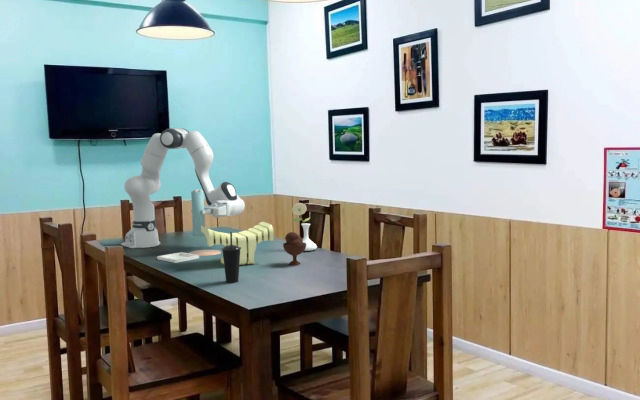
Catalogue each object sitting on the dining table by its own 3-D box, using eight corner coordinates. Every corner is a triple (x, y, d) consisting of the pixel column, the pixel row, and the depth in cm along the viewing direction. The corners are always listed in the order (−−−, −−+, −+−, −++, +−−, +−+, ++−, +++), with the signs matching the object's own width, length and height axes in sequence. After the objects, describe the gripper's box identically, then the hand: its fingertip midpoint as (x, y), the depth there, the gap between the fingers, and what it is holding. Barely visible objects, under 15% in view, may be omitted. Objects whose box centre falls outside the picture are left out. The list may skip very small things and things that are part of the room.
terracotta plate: (182, 254, 292) (182, 252, 292) (207, 250, 304) (207, 248, 304) (202, 258, 282) (202, 256, 282) (227, 253, 294) (227, 251, 294)
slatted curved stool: (210, 269, 255) (209, 229, 254) (201, 263, 270) (200, 225, 268) (274, 263, 268) (273, 225, 266) (262, 257, 282) (262, 221, 281)
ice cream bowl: (304, 266, 259) (303, 233, 257) (279, 266, 261) (279, 233, 260) (309, 262, 269) (308, 230, 268) (286, 261, 271) (285, 229, 270)
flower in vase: (318, 248, 306) (317, 201, 304) (315, 252, 295) (315, 203, 292) (293, 248, 307) (293, 201, 305) (290, 252, 296) (289, 203, 294)
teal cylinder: (190, 235, 289) (188, 189, 286) (200, 234, 293) (198, 188, 291) (198, 236, 285) (196, 189, 283) (207, 235, 289) (206, 188, 287)
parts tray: (157, 260, 277) (157, 256, 277) (181, 256, 288) (181, 252, 288) (175, 264, 268) (175, 259, 268) (199, 259, 279) (199, 255, 279)
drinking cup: (223, 279, 235) (222, 231, 233) (242, 279, 236) (241, 230, 234) (221, 284, 228) (220, 233, 226) (241, 283, 228) (240, 233, 226)
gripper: (205, 201, 304) (183, 204, 294) (231, 203, 291) (209, 206, 281) (205, 213, 305) (184, 216, 294) (231, 216, 292) (210, 219, 281)
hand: (196, 211), depth 287 cm, fingers closed on teal cylinder, 6 cm apart
